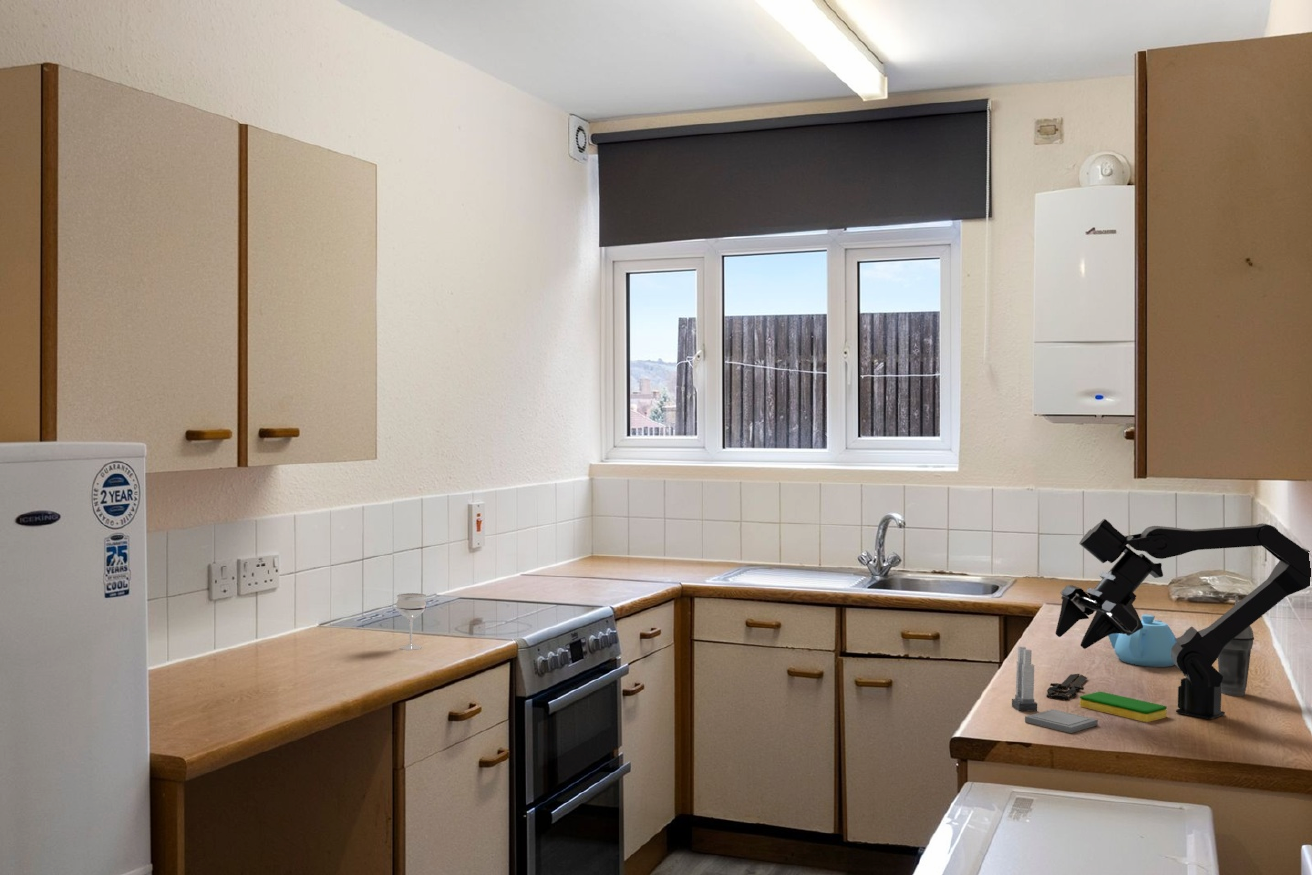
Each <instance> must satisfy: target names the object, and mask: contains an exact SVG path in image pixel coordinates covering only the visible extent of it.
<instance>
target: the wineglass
mask: <svg viewBox="0 0 1312 875" xmlns="http://www.w3.org/2000/svg"><path fill="white" fill-rule="evenodd" d="M426 596H427V595H426V594H425V593H416V592H415V593H413V592H409V593H399V594H397V595H396V598H397V600H396V603H395V605H396V606H395V607H396V610H397V611H398V613H399V614H400V615H401V616H403V617H404V618H407V621H409V623H408V624H409V643H408V644H405V645H402V646H399V649H401V650H404V651H405V650H406V651H407V650H408V651H409V650H410V651H411V650H412V651H413V650H420V649H421V648H422V646H420V645H417V644H415V643H412V642H413V640H412V639H413V623H414V622H413V621H414V620H415V619H416V618H417V617H420V616H421V615H422V614H423V612H425V610H426V608H427V602H426Z"/></svg>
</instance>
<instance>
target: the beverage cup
mask: <svg viewBox="0 0 1312 875" xmlns="http://www.w3.org/2000/svg"><path fill="white" fill-rule="evenodd" d="M1234 598H1235V600H1234V602H1235V603H1234V606H1235V605H1236V604H1237V603H1239V596H1238V595H1235V597H1234ZM1251 626H1252V625H1250V626H1249V627H1248V628H1246V629H1245V630H1244V631H1243V632H1241V633H1240V634H1239V635H1238V636H1236V637H1235V638H1234V639H1233V640H1231V641H1230V642H1229V643H1228V644H1227V645H1226V646H1225V647H1224V649H1223V650H1222V652H1221V653H1220V655H1219V657H1218V658H1217V665H1218V666H1217V668H1218V672H1219V673H1220V674H1221V675H1222V676H1223V679H1222V682H1221V683H1222V686H1221V694H1224V695H1228V696H1233V697H1236V696H1237V697H1242V696H1245V695H1246V690H1247V687H1248V686H1247V685H1248V678H1249V670H1250V661H1251V653H1252V649H1253V647H1254V646H1253V645H1254V640H1255V637H1254V631H1253V629H1252V627H1251Z"/></svg>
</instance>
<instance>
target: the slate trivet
mask: <svg viewBox="0 0 1312 875" xmlns="http://www.w3.org/2000/svg"><path fill="white" fill-rule="evenodd" d="M1024 722H1025V723H1028V724H1031V725H1036V726H1040V727H1042V728H1043V727H1045V728H1047V729H1050V730H1051V729H1052V730H1056V731H1061V732H1063V733H1069V734H1072V733H1077V732H1079V731H1082V730H1086V729H1089V728H1092V727H1096V726H1099V723H1098V722H1099V720H1098V719H1096V718H1092V717H1088V716H1084V715H1079V714H1075V713H1070V712H1066V711H1062V710H1057V709H1054V708H1052V709H1049V710H1045V711H1040V712H1038V713H1033V714H1030V715H1026V716H1024Z"/></svg>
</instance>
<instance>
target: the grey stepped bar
mask: <svg viewBox="0 0 1312 875" xmlns="http://www.w3.org/2000/svg"><path fill="white" fill-rule="evenodd" d="M1032 651H1033V650H1032V649H1028V648H1027V647H1026V646H1017V661H1016V673H1015V674H1016V685H1015V694H1014V698H1011V708H1013V709H1015V710H1016V711H1018V712H1038V703H1037V702H1036V701H1035V698H1034V696H1035V694H1034V693H1035V692H1034V690H1035V688H1034V687H1035V665H1034V664H1032V654H1033V653H1032Z"/></svg>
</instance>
